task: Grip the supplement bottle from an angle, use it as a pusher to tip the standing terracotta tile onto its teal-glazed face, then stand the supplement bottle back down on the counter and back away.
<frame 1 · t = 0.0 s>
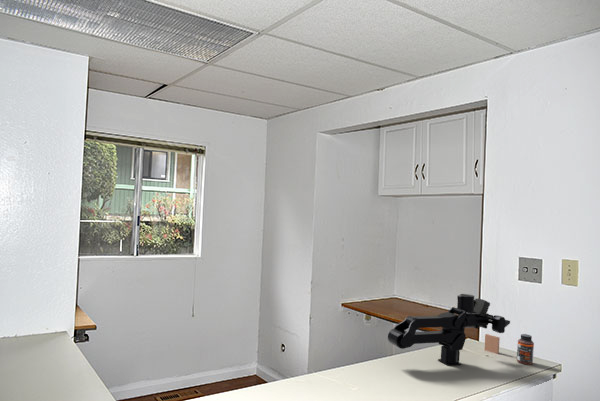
hand: (501, 319, 189), 17 cm above the counter, tool horizontal, fingers open, 9 cm apart
supplement bottle: (524, 363, 186), on the counter
tile: (491, 351, 199), on the counter
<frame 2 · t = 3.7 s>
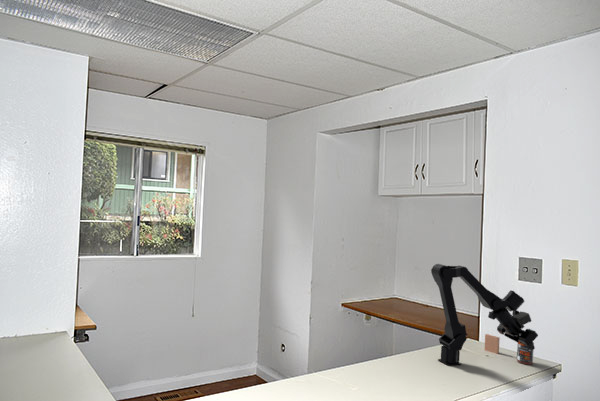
hand: (528, 346, 186), 7 cm above the counter, tool tilted 45°, fingers closed on supplement bottle, 6 cm apart
supplement bottle: (524, 363, 186), on the counter, touching gripper
everything else where it was.
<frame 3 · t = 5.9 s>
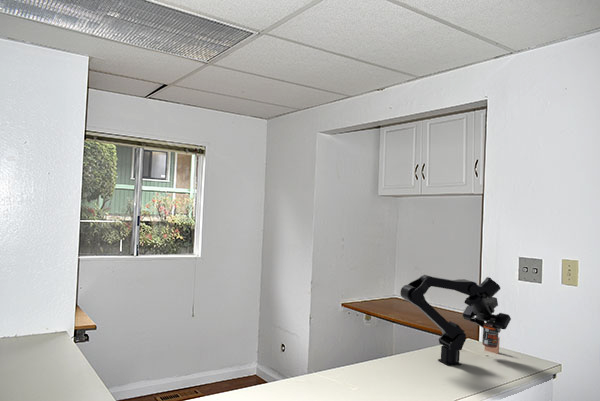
hand: (492, 329, 190), 12 cm above the counter, tool tilted 45°, fingers closed on supplement bottle, 6 cm apart
supplement bottle: (489, 346, 189), point 5 cm above the counter, touching gripper
everything else where it was.
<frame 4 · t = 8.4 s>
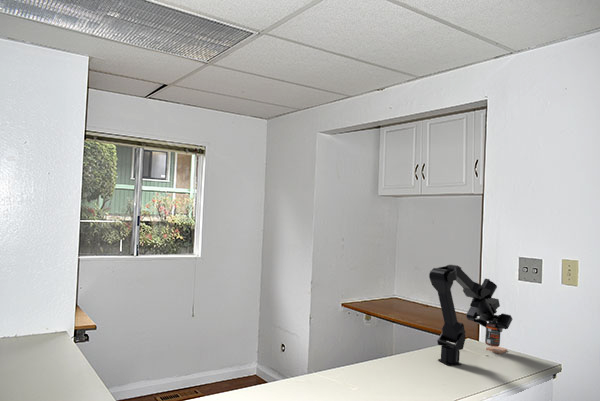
hand: (494, 329, 200), 9 cm above the counter, tool tilted 45°, fingers closed on supplement bottle, 6 cm apart
supplement bottle: (492, 345, 199), point 3 cm above the counter, touching gripper
tile: (492, 350, 199), on the counter, tilted 90°
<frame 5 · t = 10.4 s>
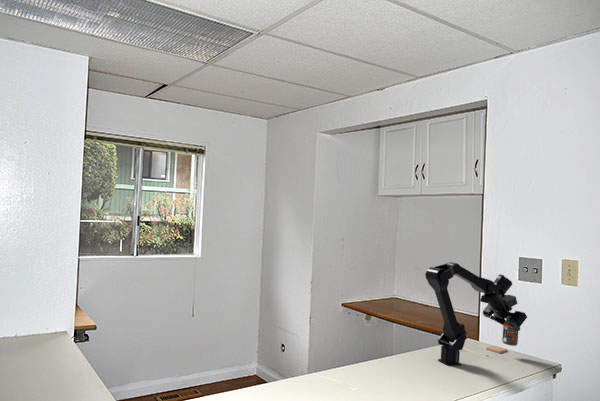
hand: (513, 328, 193), 12 cm above the counter, tool tilted 45°, fingers closed on supplement bottle, 6 cm apart
supplement bottle: (509, 344, 192), point 5 cm above the counter, touching gripper
everything else where it was.
when the fingers open (8 cm above the counter, at t = 11.9 s): supplement bottle drops 1 cm, on the counter.
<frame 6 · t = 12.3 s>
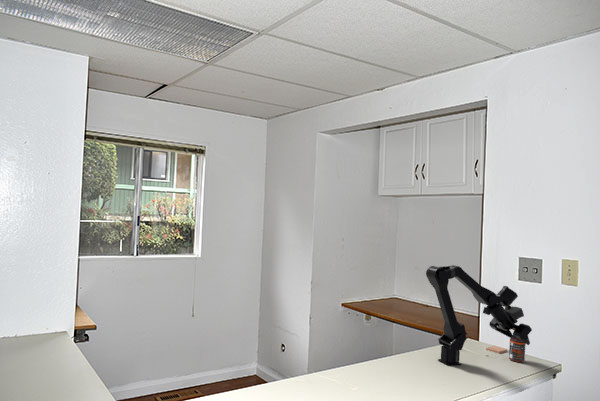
hand: (520, 340, 189), 8 cm above the counter, tool tilted 45°, fingers open, 9 cm apart
supplement bottle: (516, 361, 188), on the counter
everything else where it was.
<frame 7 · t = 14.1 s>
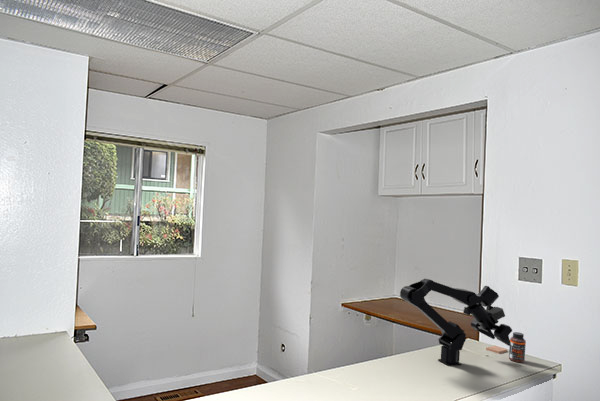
hand: (501, 341, 186), 8 cm above the counter, tool tilted 45°, fingers open, 9 cm apart
nothing on the counter moved.
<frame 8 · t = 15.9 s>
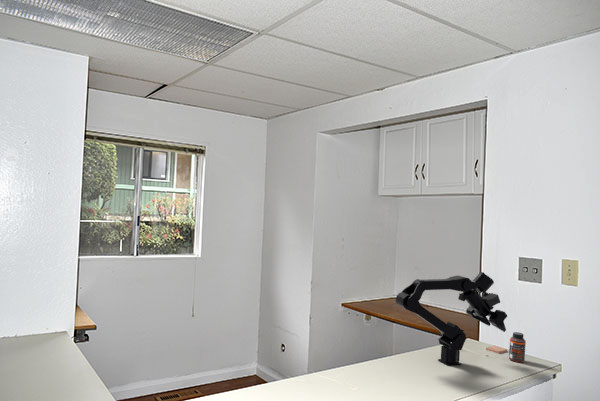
hand: (497, 328, 186), 14 cm above the counter, tool tilted 45°, fingers open, 9 cm apart
nothing on the counter moved.
at the end: tile tilted 90°; supplement bottle inside the target area (0.2 cm from its centre), on the counter; supplement bottle tilted 0° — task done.
